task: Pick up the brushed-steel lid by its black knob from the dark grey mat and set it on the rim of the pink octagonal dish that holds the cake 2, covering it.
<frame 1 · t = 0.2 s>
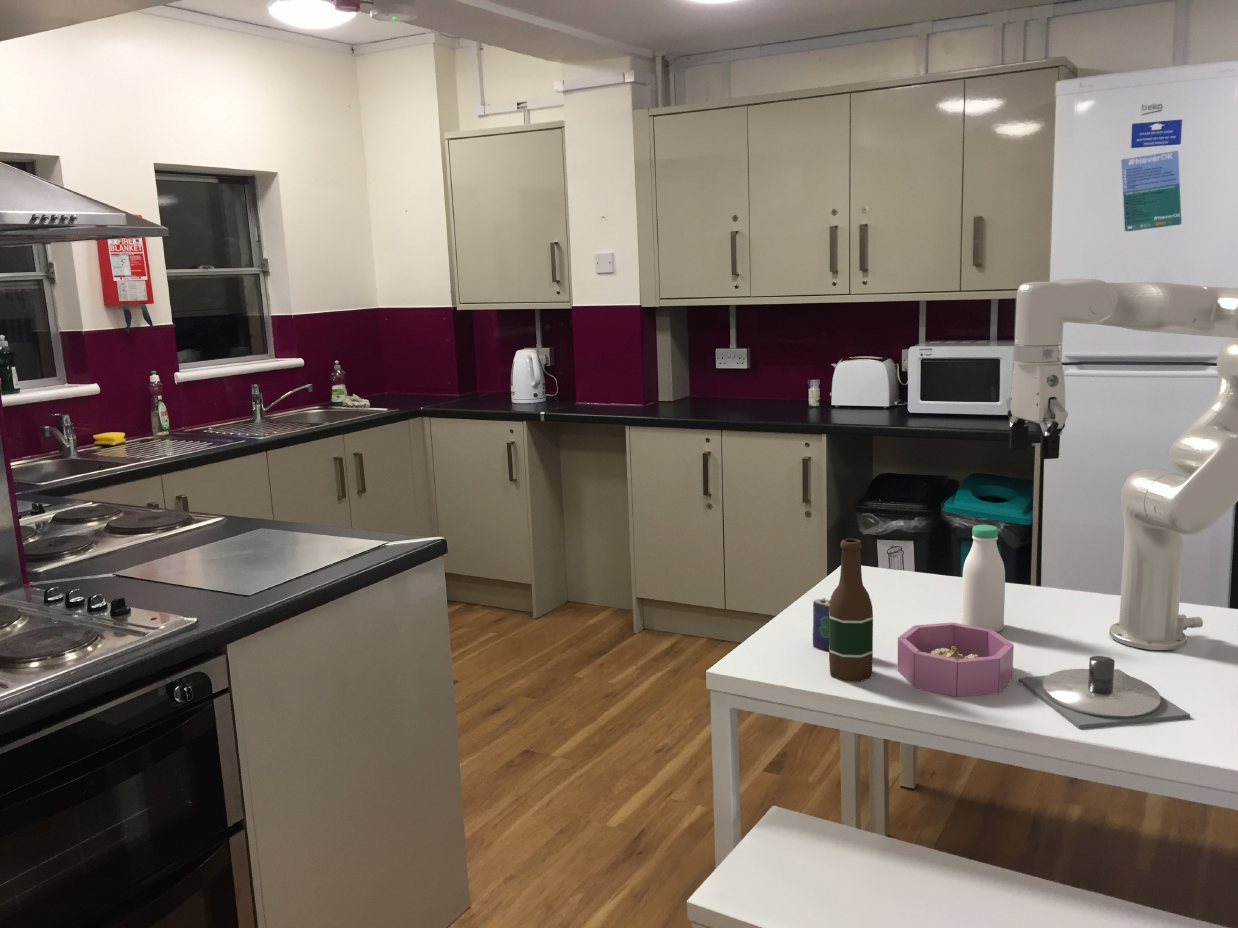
hand: (1033, 453, 176), 36 cm above the table, tool pointing down, fingers open, 9 cm apart
mat: (1099, 698, 162), on the table
beer bottle: (850, 674, 176), on the table
milk bottle: (982, 628, 195), on the table
pink octagonal dish: (954, 674, 174), on the table
lid: (1100, 695, 162), point 1 cm above the table, touching mat
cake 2: (954, 676, 174), resting in pink octagonal dish
flask: (835, 651, 186), on the table
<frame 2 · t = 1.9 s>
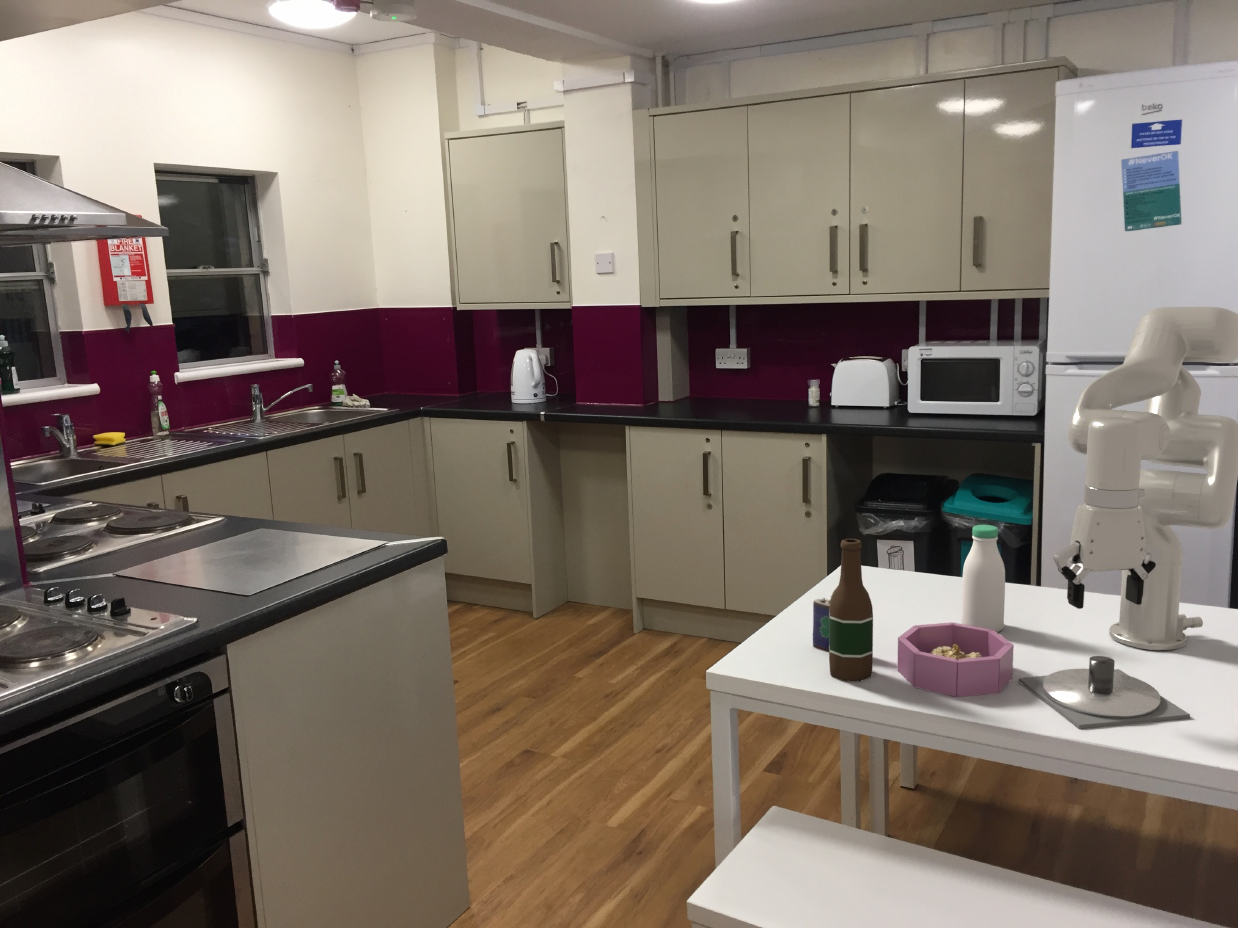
hand: (1104, 604, 159), 16 cm above the table, tool pointing down, fingers open, 9 cm apart
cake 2: (956, 674, 175), resting in pink octagonal dish
everything else where it was.
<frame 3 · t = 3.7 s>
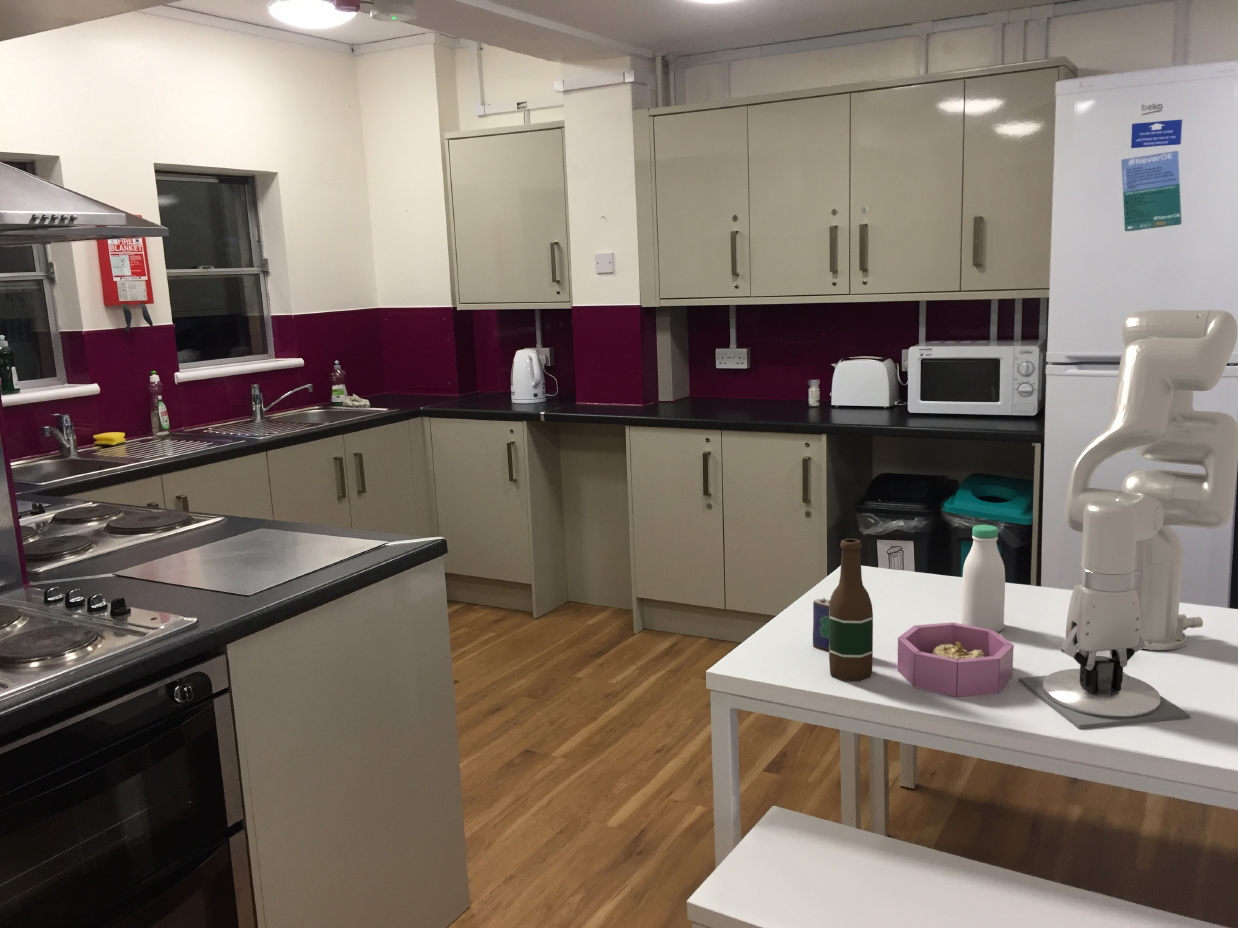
hand: (1100, 687, 162), 2 cm above the table, tool pointing down, fingers closed on lid, 3 cm apart
lid: (1100, 695, 162), point 1 cm above the table, touching gripper, mat
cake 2: (958, 671, 176), resting in pink octagonal dish
everything else where it was.
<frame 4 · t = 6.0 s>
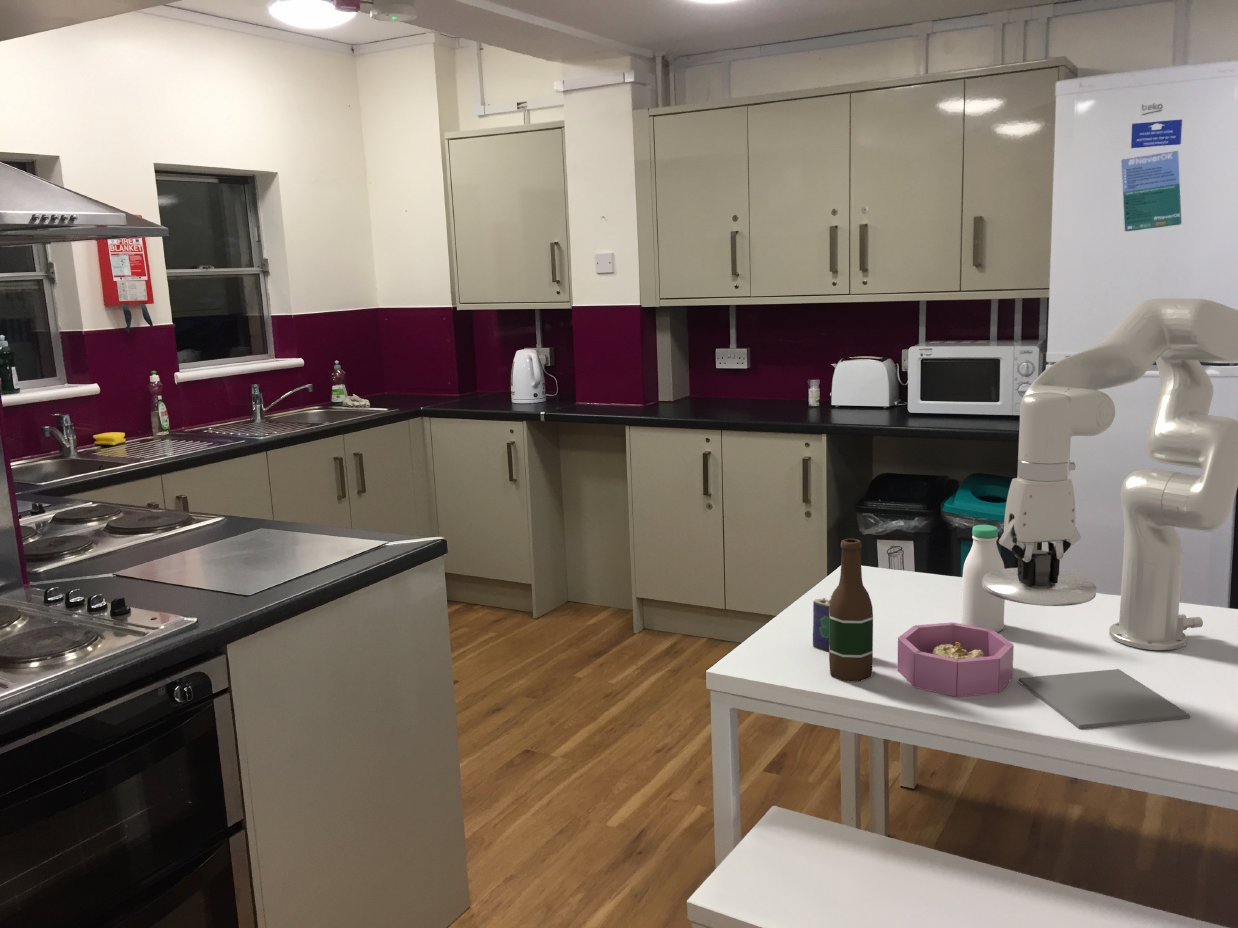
hand: (1037, 581, 163), 18 cm above the table, tool pointing down, fingers closed on lid, 3 cm apart
lid: (1038, 588, 163), point 17 cm above the table, touching gripper
everything else where it was.
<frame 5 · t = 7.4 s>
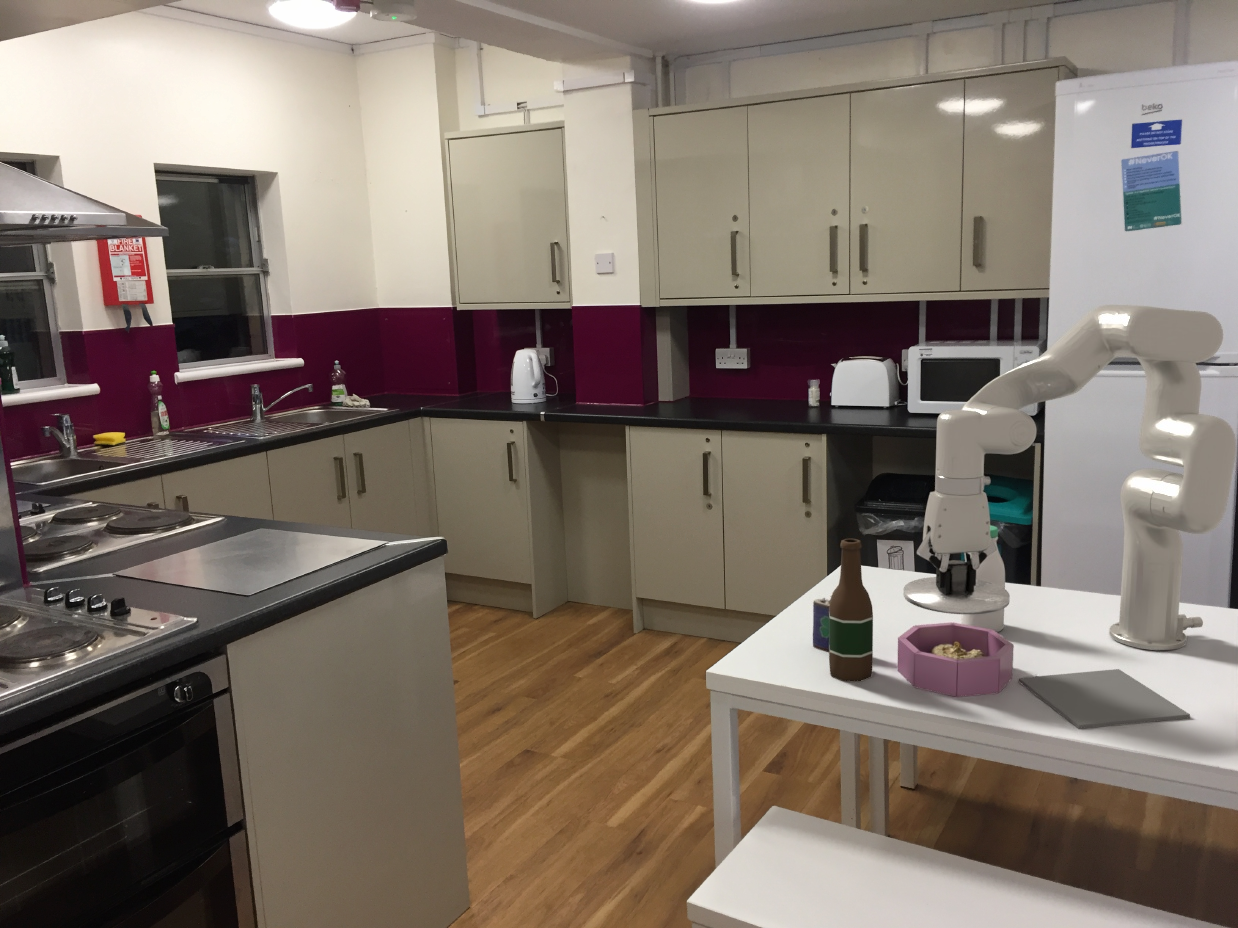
hand: (955, 590, 171), 15 cm above the table, tool pointing down, fingers closed on lid, 3 cm apart
lid: (955, 597, 171), point 14 cm above the table, touching gripper
everything else where it was.
when the fingers open (9 cm above the table, at t = 8.7 s): lid drops 1 cm, resting on pink octagonal dish.
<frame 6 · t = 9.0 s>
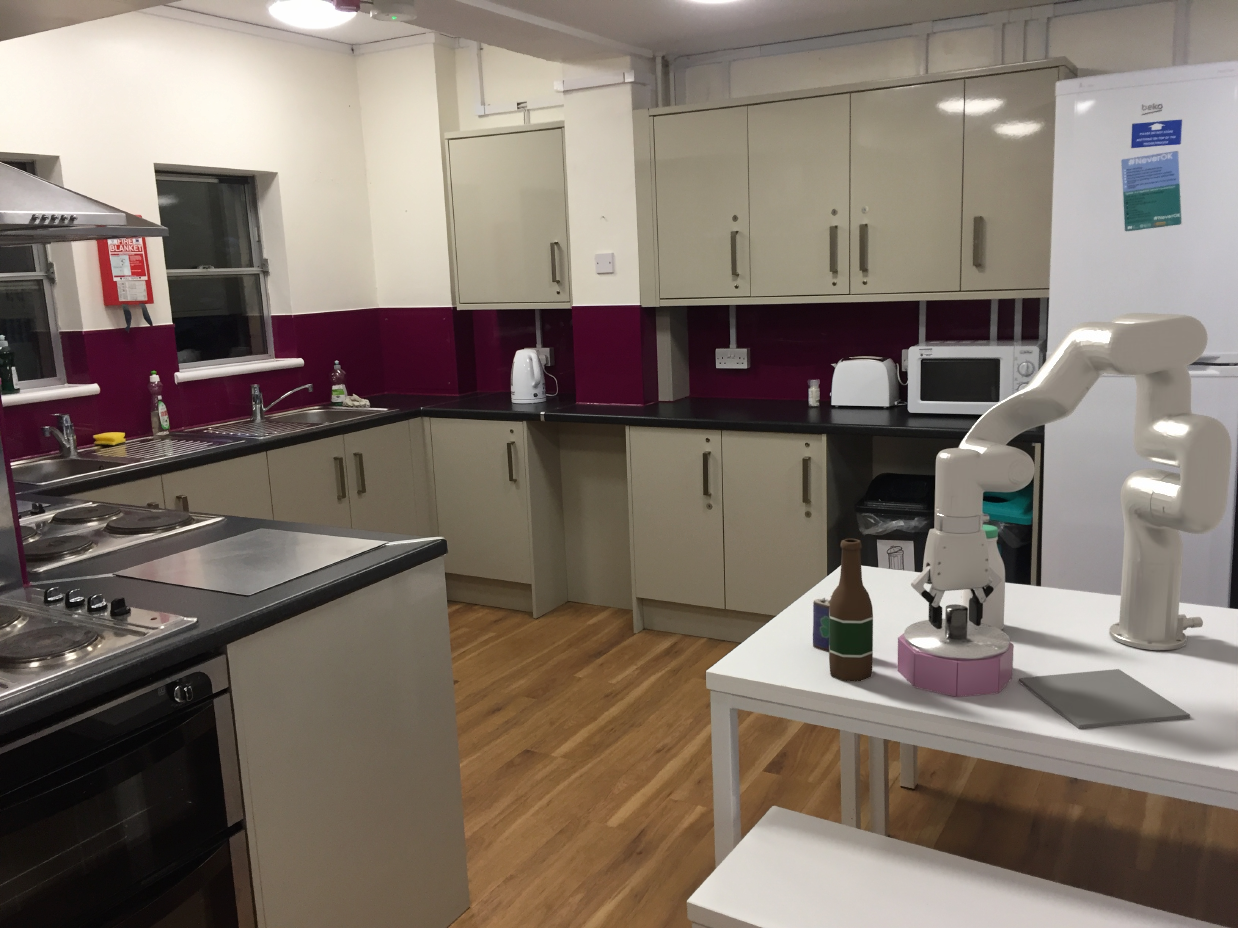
hand: (955, 623, 172), 9 cm above the table, tool pointing down, fingers open, 6 cm apart
lid: (955, 641, 172), point 6 cm above the table, touching pink octagonal dish
everything else where it was.
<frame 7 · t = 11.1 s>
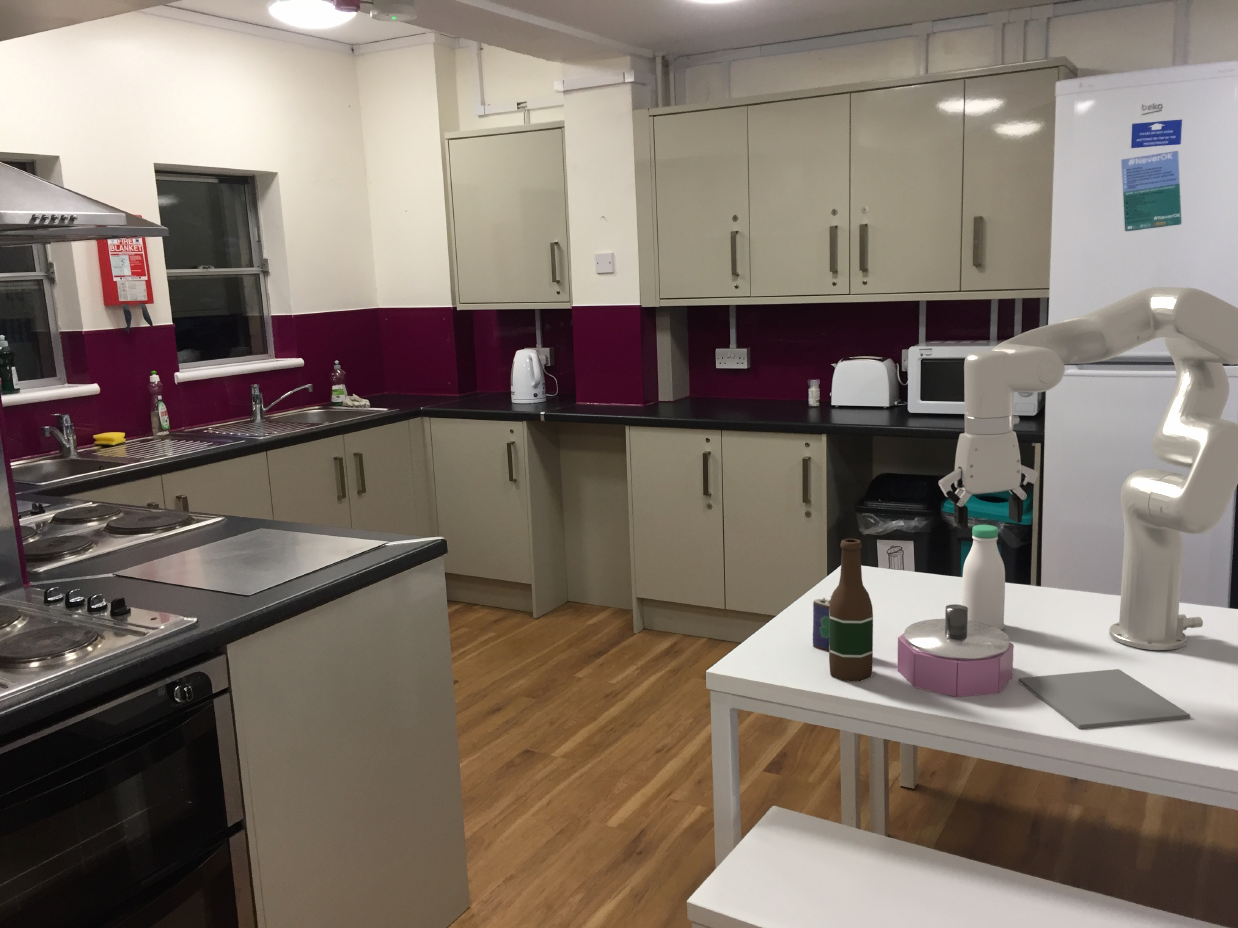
hand: (988, 523, 172), 25 cm above the table, tool pointing down, fingers open, 9 cm apart
nothing on the table moved.
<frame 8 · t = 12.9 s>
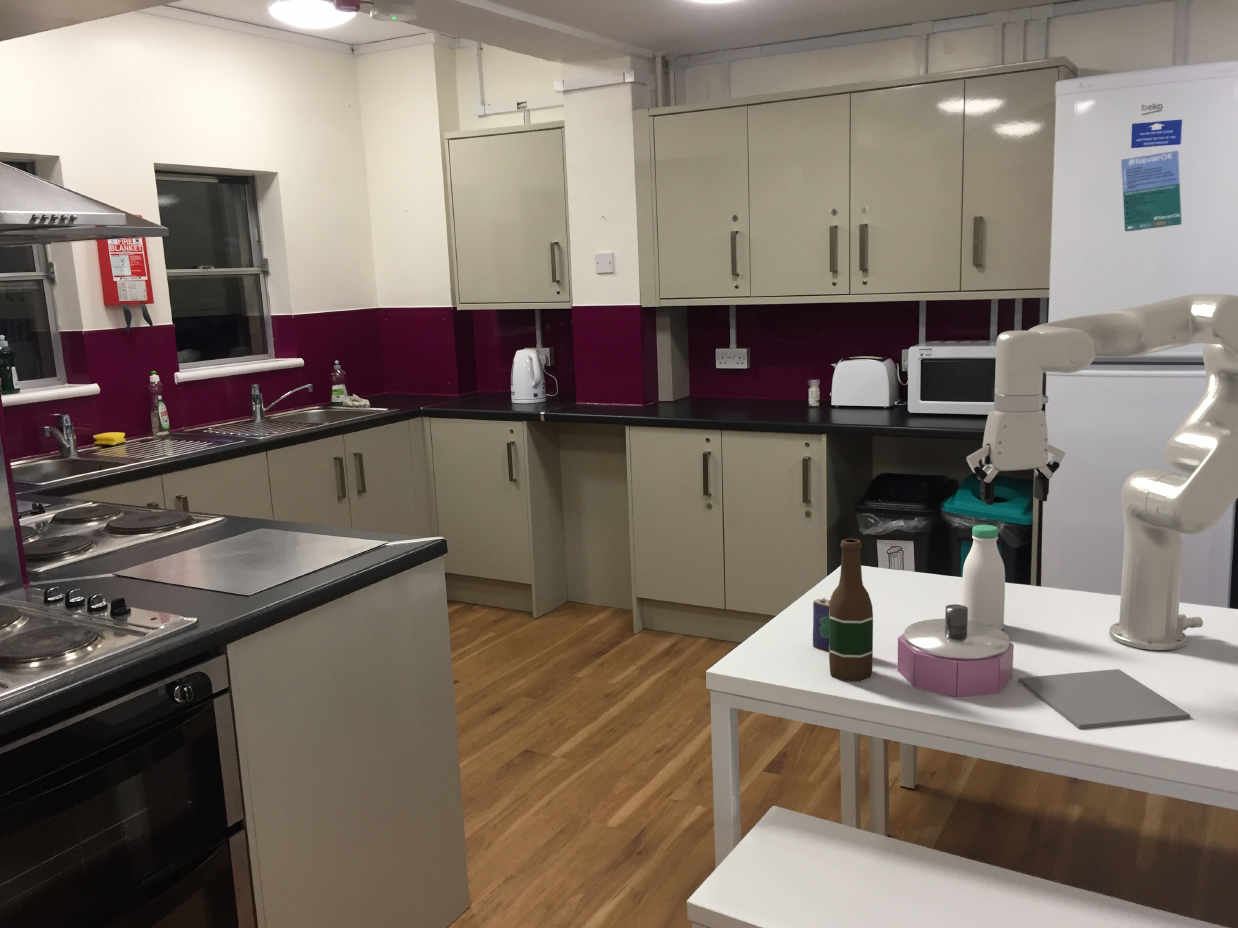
hand: (1014, 501, 175), 28 cm above the table, tool pointing down, fingers open, 9 cm apart
nothing on the table moved.
at the end: lid 0.1 cm off-centre on the pink octagonal dish, point 6.0 cm above the pink octagonal dish's base; lid tilted 0°; the gripper is holding nothing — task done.
